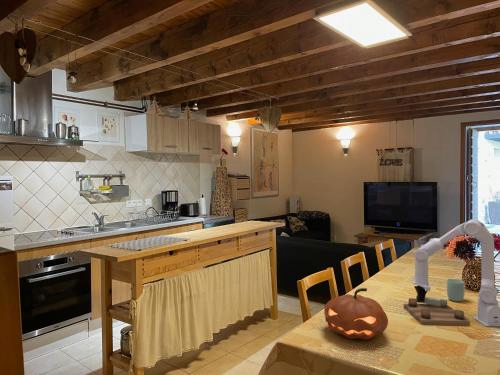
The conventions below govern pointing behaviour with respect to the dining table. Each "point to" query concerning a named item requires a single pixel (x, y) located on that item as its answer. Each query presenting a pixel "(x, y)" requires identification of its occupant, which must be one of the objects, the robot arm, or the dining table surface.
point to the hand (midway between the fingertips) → (421, 301)
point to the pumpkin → (355, 316)
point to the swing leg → (434, 301)
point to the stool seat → (435, 314)
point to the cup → (455, 289)
